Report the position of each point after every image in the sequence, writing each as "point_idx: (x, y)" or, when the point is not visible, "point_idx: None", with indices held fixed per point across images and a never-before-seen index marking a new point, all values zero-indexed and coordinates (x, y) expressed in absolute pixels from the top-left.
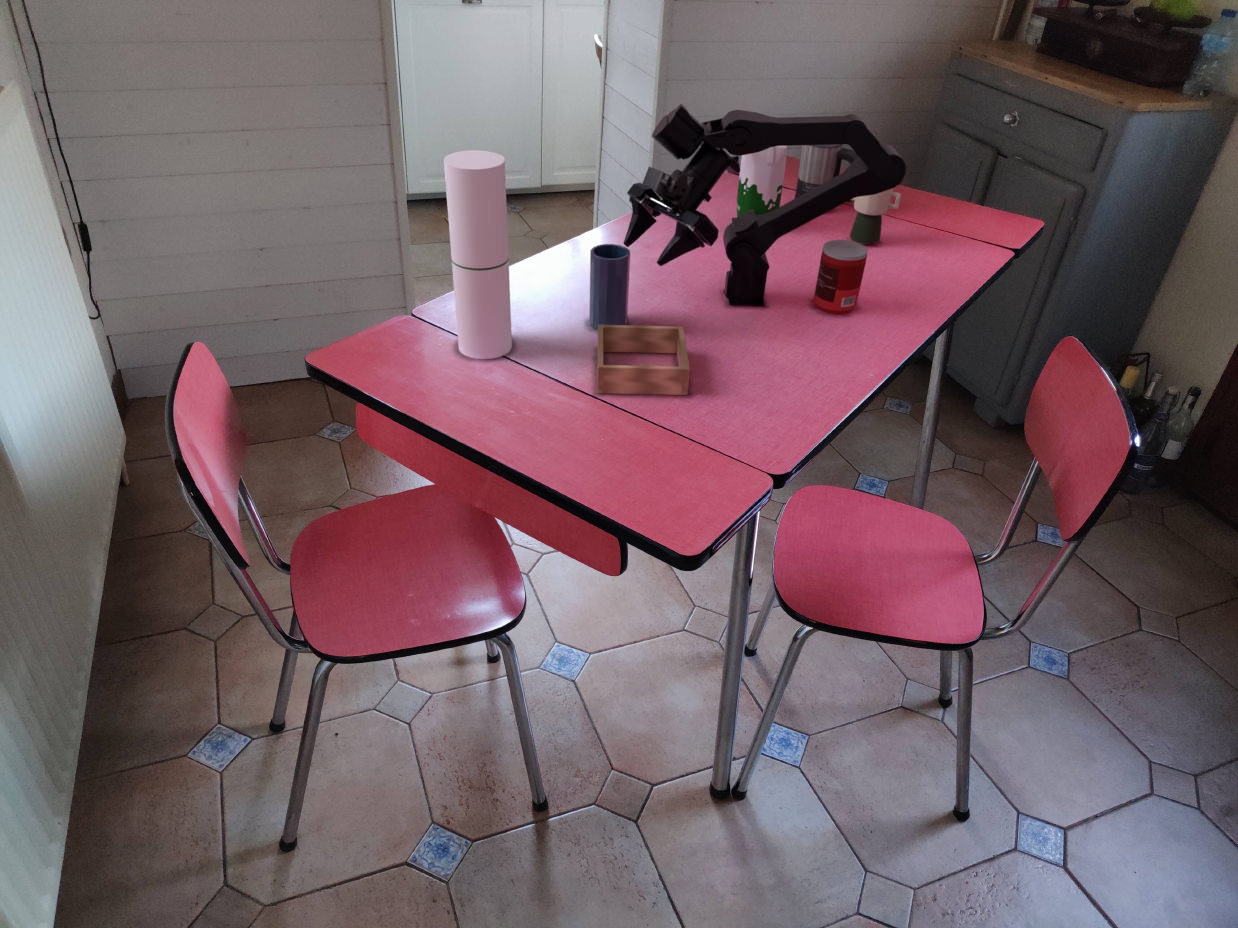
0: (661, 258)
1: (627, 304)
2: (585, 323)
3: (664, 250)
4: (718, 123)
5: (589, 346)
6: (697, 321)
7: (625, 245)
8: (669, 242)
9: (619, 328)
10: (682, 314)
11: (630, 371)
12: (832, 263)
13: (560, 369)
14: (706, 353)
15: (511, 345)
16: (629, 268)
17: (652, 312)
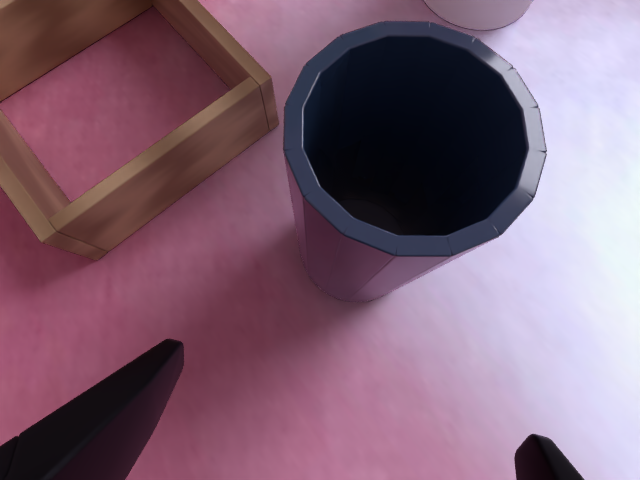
0: (140, 358)
1: (305, 259)
2: None
3: (114, 406)
4: None
5: None
6: (152, 467)
7: (529, 441)
8: (43, 476)
9: (211, 106)
10: (221, 474)
11: None
12: None
13: (282, 12)
14: (28, 303)
15: (432, 4)
16: (307, 230)
17: (306, 408)
